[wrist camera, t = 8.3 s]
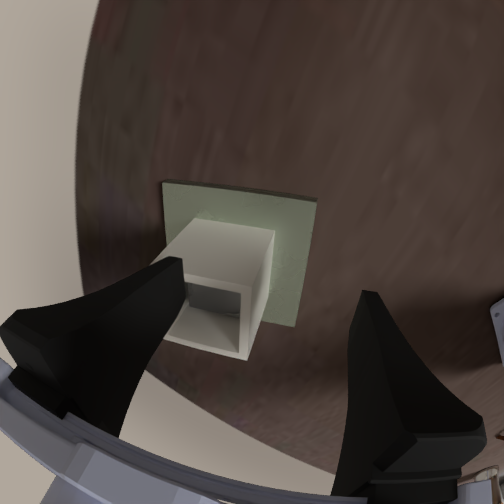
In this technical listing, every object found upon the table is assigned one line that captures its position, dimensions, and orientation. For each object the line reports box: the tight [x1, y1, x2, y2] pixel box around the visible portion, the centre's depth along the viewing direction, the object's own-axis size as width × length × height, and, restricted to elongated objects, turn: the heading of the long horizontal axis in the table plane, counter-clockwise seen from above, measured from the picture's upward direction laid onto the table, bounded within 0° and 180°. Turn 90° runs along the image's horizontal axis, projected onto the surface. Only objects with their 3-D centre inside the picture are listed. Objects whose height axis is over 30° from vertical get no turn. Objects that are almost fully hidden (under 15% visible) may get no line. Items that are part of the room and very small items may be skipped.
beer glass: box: [474, 465, 504, 504], centre depth 27 cm, size 7×7×15 cm
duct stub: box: [162, 179, 317, 327], centre depth 20 cm, size 10×10×4 cm
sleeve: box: [149, 218, 275, 361], centre depth 18 cm, size 5×5×6 cm
